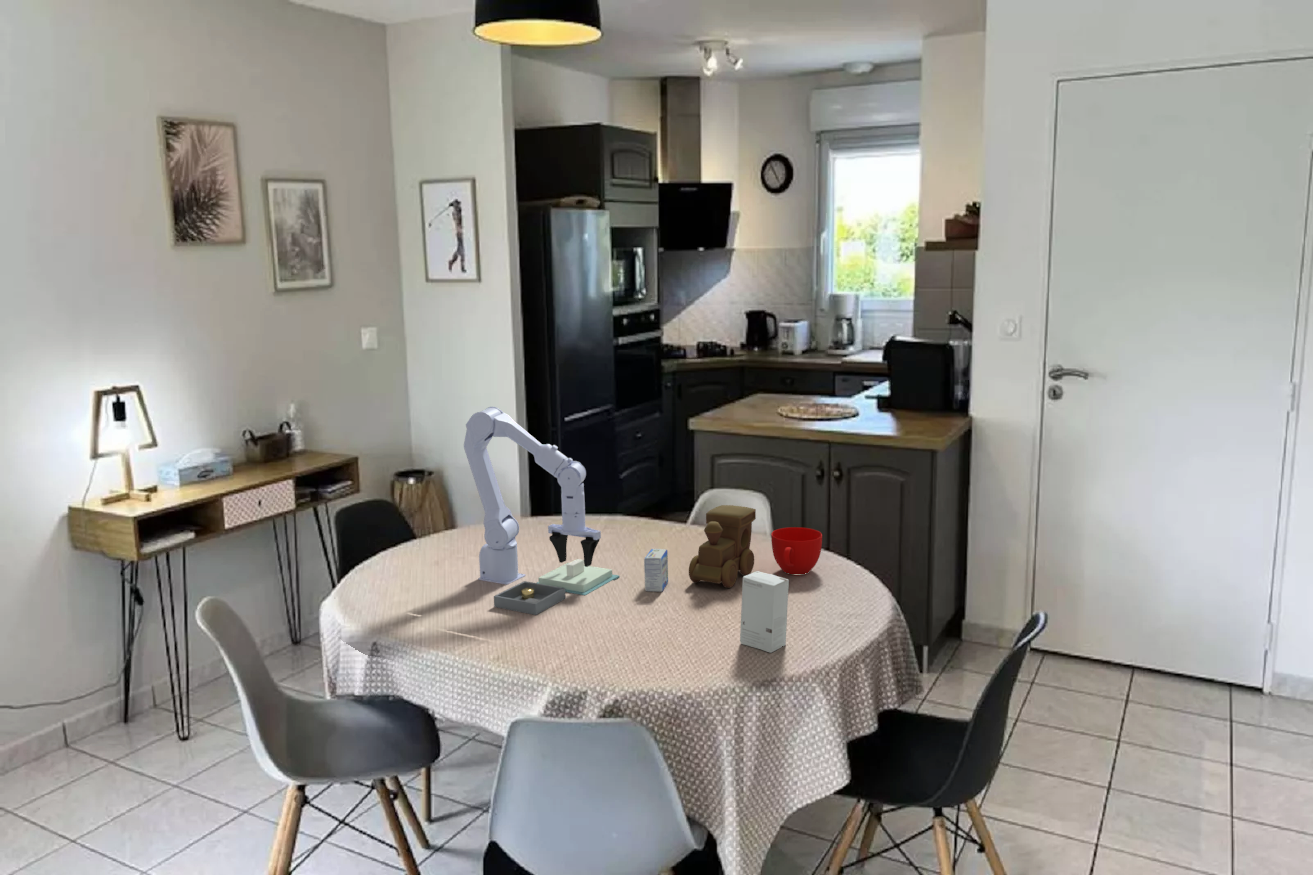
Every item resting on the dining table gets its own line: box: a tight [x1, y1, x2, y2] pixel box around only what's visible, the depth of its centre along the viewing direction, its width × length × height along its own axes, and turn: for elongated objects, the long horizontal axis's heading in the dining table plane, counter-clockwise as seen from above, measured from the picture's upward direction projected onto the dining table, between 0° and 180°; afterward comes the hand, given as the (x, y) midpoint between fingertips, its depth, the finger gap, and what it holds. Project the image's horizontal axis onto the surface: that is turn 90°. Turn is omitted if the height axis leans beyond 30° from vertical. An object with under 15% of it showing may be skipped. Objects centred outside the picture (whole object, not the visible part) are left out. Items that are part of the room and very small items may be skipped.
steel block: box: [525, 598, 539, 603], centre depth 227 cm, size 4×2×2 cm, turn 61°
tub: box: [493, 580, 566, 616], centre depth 230 cm, size 12×12×3 cm
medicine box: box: [643, 548, 669, 593], centre depth 240 cm, size 8×4×9 cm, turn 168°
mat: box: [536, 573, 621, 596], centre depth 245 cm, size 16×16×1 cm
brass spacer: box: [521, 588, 534, 600], centre depth 233 cm, size 3×3×2 cm
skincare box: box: [739, 570, 790, 654], centre depth 202 cm, size 8×6×15 cm
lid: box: [537, 558, 613, 592], centre depth 245 cm, size 13×13×5 cm
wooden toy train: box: [688, 504, 757, 589], centre depth 245 cm, size 20×11×17 cm, turn 151°
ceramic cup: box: [770, 526, 823, 575], centre depth 247 cm, size 13×17×10 cm
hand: (575, 563), depth 244 cm, fingers open, 7 cm apart
